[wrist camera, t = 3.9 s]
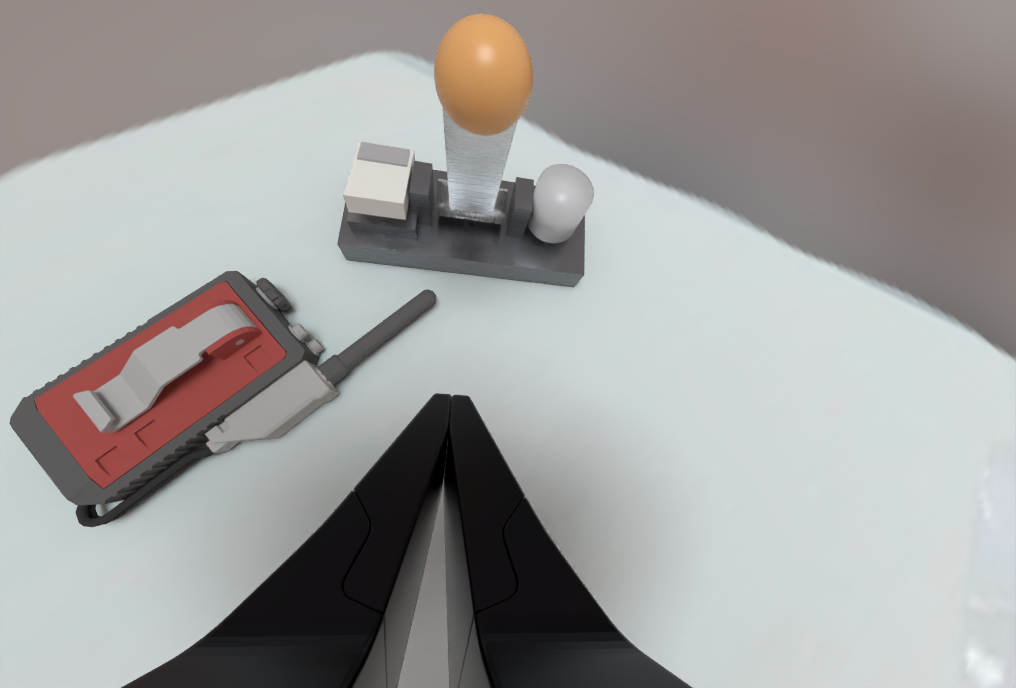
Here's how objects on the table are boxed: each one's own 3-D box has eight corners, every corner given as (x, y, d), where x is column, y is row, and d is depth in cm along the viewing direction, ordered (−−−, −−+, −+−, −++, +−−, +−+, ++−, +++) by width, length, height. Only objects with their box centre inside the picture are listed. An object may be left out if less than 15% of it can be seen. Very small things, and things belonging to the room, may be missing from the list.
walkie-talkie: (140, 555, 18) (446, 312, 24) (47, 591, 14) (445, 286, 20) (39, 423, 19) (359, 216, 25) (-78, 420, 15) (340, 171, 20)
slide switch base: (573, 287, 25) (603, 252, 20) (346, 259, 23) (319, 214, 18) (575, 210, 27) (602, 161, 22) (361, 178, 25) (340, 117, 20)
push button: (575, 246, 23) (593, 219, 20) (524, 239, 22) (536, 210, 19) (576, 201, 24) (593, 169, 21) (527, 193, 23) (538, 159, 20)
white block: (405, 219, 20) (403, 201, 19) (348, 211, 20) (342, 192, 19) (415, 167, 22) (413, 147, 21) (362, 159, 21) (358, 138, 20)
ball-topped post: (500, 236, 23) (555, 110, 10) (436, 228, 22) (405, 82, 10) (505, 188, 23) (565, 0, 10) (440, 178, 22) (416, -34, 9)
